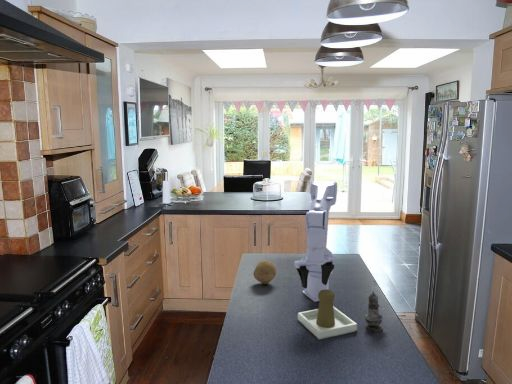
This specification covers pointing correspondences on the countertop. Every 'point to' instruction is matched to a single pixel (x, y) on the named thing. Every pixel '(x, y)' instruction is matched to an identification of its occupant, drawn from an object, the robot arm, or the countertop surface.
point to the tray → (341, 327)
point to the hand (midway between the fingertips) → (314, 285)
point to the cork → (326, 309)
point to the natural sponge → (265, 272)
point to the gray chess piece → (373, 314)
